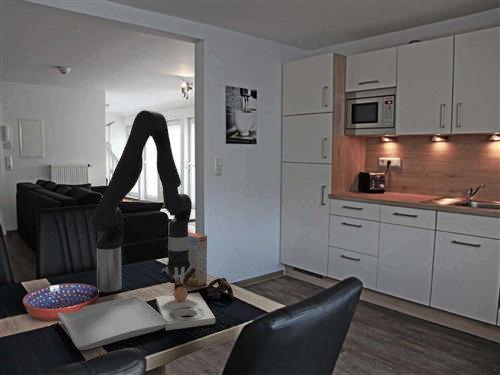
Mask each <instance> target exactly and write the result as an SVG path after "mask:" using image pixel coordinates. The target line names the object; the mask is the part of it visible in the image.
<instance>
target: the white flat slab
mask: <svg viewBox="0 0 500 375" xmlns="http://www.w3.org/2000/svg"><path fill="white" fill-rule="evenodd" d="M155 302H156V303H155V304H156V305H157V306H156V307H157V309H158V311H159V312H158V313H159V314H160V315H161V316H163V317H164V318H165V319H166V320H167V321H168V322H169V323H168V324H167V325H166V326H165V327H164V330H165V331H171V330H178V329H188V328H193V327H200V326H208V325H214V324H216V317H215V315H214V314H213V312H212V311H211V309H210V308H209V306H208V304H207V303H206V301H205V300H204V299H203V297H202V295H201V294H200V292H192V293H191V292H190V293H188V296H187V298H186V299H185V300H183V301H178V300H176V299H175V297H174V294H173V295H165V296H156V298H155ZM184 316H185V317H184ZM186 316H188V317H186ZM189 316H190V317H189Z"/></svg>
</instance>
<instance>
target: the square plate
mask: <svg viewBox="0 0 500 375" xmlns="http://www.w3.org/2000/svg"><path fill="white" fill-rule="evenodd" d="M82 307H83V309H81V310H80V311H77V312H70V313H69V312H68V313H61V312H62V311H60V313H59V312H57V316H58V318H59V319H60V321H61V322H62V323H63V325H64V326H65V327H66V328H65V329H66V330H67V332H68V334H69V336H70V337H71V338H70V339H71V340H72V343H73V345H74V346H75V347H76V348H77V349H78V350H80V351H87V350H90V349H94V348H99V347H101V346H106V345H109V344H113V343H116V342H119V341H123V340H127V339H131V338H134V337H140V336H143V335H146V334H149V333H154V332H156V331H160V330H162V329H163V328H164V329H165V326H166V325H167V324H168V323H169V322H168V321H167V320H166V319H165V318H164V317H163V316H161V315H160V312H158V311H157V310H156V309H154V308H153V307H152V306H151V305H150V304H148V303H147V302H146V300H143V298H141V297H140V296H138V295H137V296H136V295H135V296H129V297H123V298H118V299H114V300H108V301H103V302H97V303H93V304H89V305H85V307H84V306H82Z"/></svg>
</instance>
